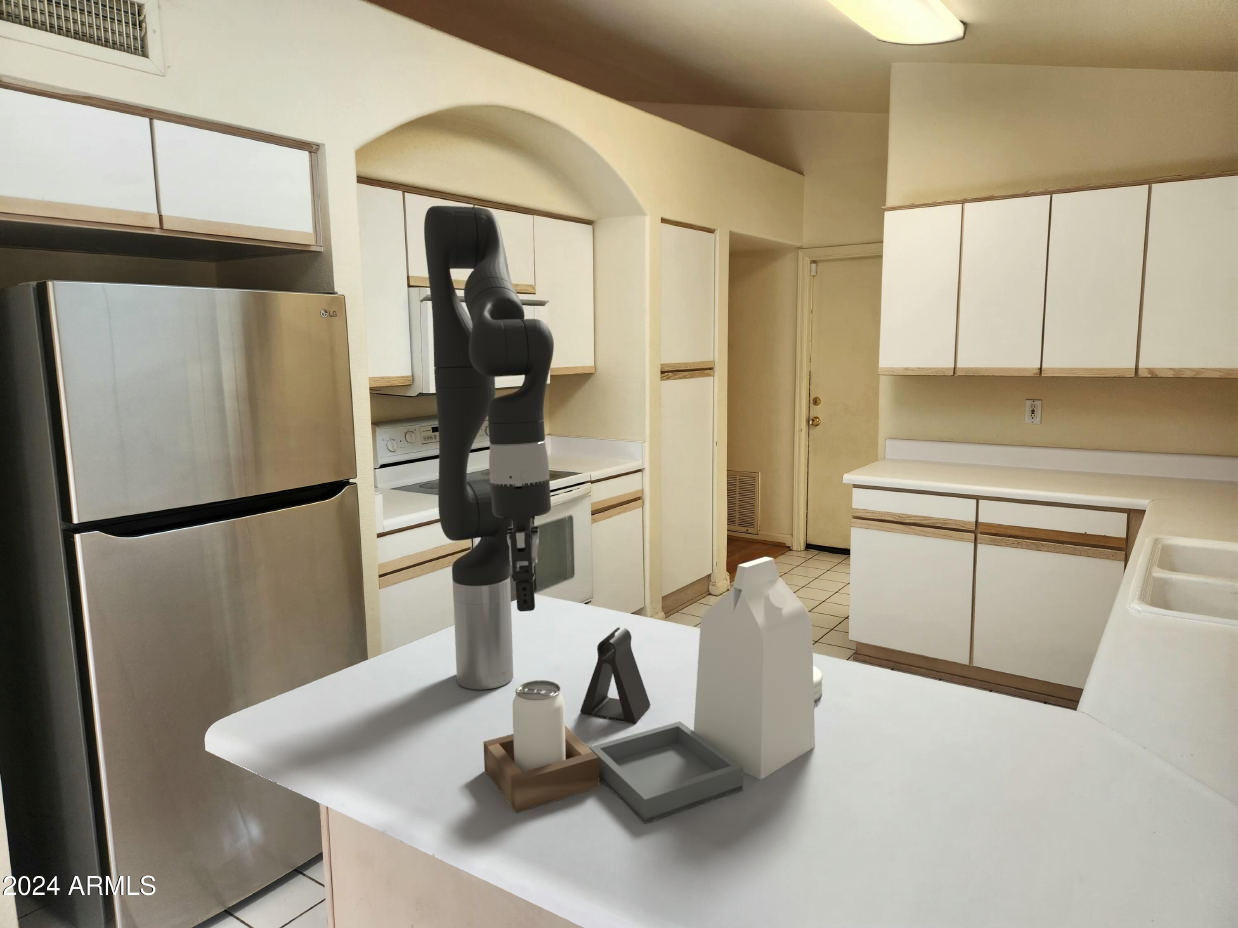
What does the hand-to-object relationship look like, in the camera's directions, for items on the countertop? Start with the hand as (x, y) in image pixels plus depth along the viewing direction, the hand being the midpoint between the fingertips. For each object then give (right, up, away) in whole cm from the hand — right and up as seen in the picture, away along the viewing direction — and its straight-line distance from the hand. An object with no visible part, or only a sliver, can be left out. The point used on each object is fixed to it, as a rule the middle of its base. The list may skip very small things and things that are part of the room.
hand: (527, 600), depth 105 cm
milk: (+30, -21, +5) cm, 37 cm away
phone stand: (+11, -20, +16) cm, 28 cm away
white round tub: (+39, -18, +22) cm, 49 cm away
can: (+2, -22, -2) cm, 23 cm away
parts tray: (+18, -22, -3) cm, 28 cm away
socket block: (+2, -22, -2) cm, 22 cm away
